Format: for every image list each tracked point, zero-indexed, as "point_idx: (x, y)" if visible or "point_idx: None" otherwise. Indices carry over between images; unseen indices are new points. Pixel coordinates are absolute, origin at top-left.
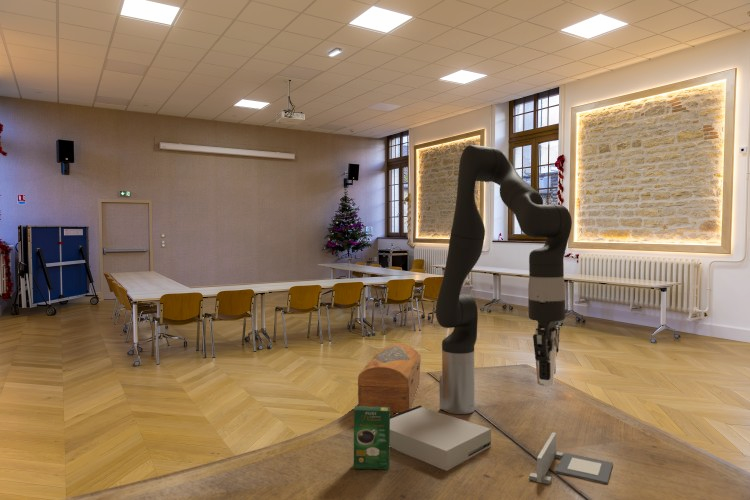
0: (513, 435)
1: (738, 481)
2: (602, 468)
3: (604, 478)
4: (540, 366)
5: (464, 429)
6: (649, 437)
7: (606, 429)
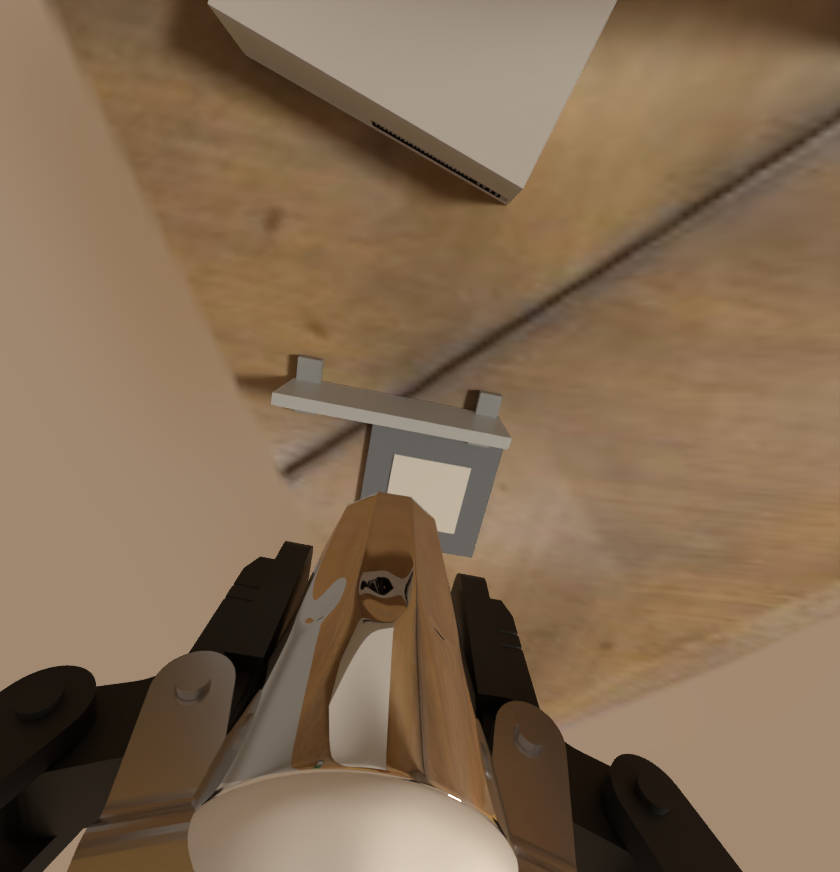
0: (626, 282)
1: None
2: None
3: None
4: (205, 629)
5: (484, 47)
6: (665, 645)
7: (714, 561)
